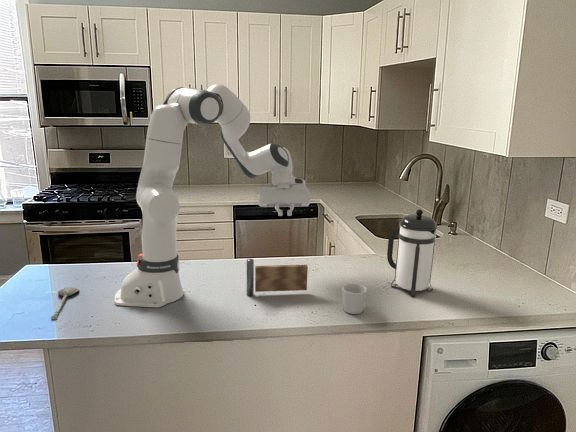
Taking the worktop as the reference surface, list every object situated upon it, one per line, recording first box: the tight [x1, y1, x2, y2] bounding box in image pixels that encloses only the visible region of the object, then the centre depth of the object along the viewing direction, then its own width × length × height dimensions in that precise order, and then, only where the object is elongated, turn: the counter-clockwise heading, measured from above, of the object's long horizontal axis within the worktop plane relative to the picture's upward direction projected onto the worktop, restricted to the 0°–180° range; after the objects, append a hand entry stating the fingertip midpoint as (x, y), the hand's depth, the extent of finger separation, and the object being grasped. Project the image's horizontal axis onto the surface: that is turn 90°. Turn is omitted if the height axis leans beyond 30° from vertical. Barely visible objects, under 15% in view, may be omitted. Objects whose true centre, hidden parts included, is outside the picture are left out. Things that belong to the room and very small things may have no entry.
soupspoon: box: [50, 286, 80, 320], centre depth 143 cm, size 22×3×7 cm
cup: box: [341, 282, 368, 315], centre depth 142 cm, size 11×8×8 cm
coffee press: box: [386, 209, 438, 298], centre depth 157 cm, size 17×16×30 cm
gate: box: [254, 264, 309, 293], centre depth 151 cm, size 18×2×9 cm, turn 97°
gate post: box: [246, 258, 255, 297], centre depth 150 cm, size 2×2×13 cm
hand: (285, 215), depth 166 cm, fingers open, 2 cm apart
